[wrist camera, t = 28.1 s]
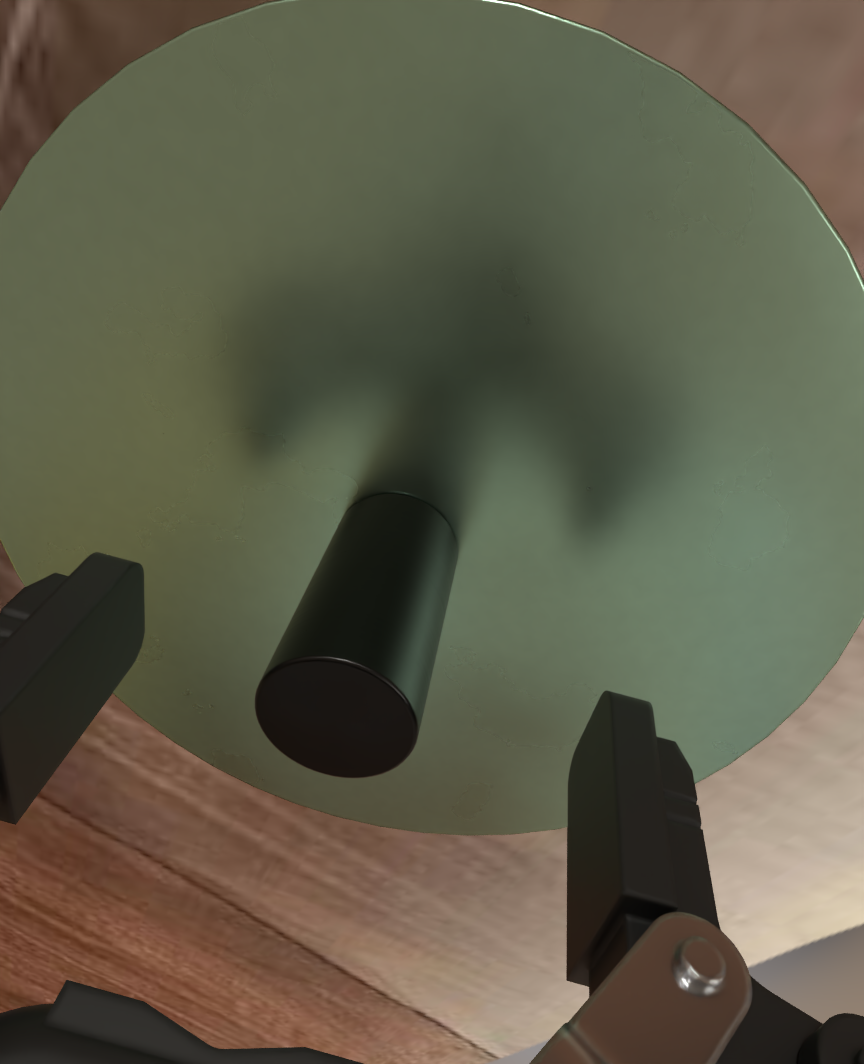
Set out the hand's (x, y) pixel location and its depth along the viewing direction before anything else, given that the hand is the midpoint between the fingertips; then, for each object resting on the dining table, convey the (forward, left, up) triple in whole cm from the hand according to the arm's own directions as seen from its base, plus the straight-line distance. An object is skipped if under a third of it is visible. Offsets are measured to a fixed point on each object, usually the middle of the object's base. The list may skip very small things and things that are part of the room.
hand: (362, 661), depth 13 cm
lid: (0, 0, -4) cm, 4 cm away
